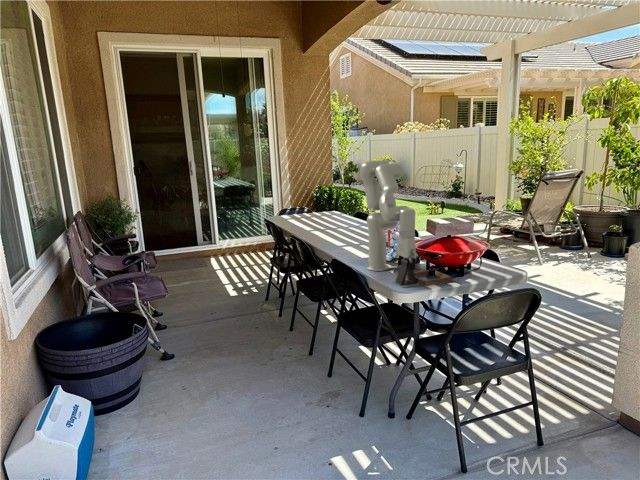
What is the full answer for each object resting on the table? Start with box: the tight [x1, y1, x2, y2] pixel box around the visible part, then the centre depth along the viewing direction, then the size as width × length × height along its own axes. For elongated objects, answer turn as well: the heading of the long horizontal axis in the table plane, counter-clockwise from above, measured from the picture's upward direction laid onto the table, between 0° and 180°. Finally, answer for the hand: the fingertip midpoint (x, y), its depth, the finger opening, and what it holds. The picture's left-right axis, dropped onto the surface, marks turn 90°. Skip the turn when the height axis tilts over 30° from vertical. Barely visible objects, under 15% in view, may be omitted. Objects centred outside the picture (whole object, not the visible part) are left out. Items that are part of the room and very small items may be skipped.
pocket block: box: [406, 269, 453, 287], centre depth 226 cm, size 16×16×2 cm
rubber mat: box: [392, 278, 422, 289], centre depth 221 cm, size 10×10×1 cm
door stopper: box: [394, 258, 417, 286], centre depth 220 cm, size 9×6×12 cm, turn 107°
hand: (406, 267), depth 220 cm, fingers open, 9 cm apart
